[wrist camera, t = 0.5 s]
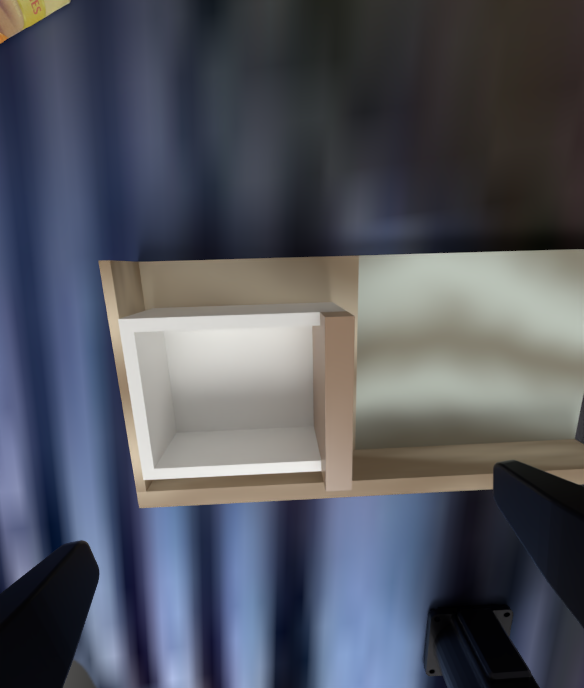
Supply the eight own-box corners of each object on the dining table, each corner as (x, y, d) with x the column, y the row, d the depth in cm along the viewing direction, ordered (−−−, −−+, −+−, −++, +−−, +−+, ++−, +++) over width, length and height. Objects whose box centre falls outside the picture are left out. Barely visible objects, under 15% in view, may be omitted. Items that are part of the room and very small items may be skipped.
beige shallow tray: (558, 444, 22) (619, 482, 18) (165, 464, 21) (139, 508, 17) (595, 249, 19) (676, 244, 15) (137, 262, 18) (98, 260, 14)
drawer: (331, 430, 20) (351, 490, 14) (170, 438, 19) (129, 501, 14) (332, 302, 18) (354, 316, 13) (153, 308, 18) (98, 325, 12)
